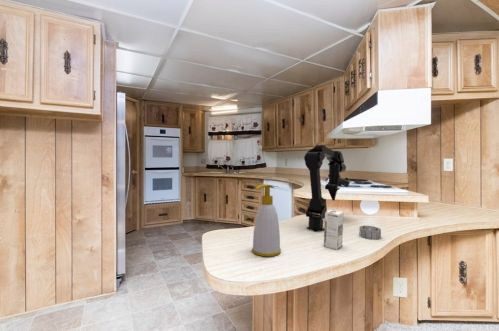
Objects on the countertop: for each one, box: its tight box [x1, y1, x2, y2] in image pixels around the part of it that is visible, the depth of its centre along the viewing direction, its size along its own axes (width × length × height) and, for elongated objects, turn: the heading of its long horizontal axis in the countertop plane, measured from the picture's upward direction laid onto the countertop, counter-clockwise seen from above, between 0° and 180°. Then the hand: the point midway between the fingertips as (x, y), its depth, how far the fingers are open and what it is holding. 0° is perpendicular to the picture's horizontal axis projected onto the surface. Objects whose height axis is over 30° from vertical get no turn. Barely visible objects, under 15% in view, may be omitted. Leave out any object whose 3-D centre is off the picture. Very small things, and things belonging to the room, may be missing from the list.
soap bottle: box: [251, 183, 282, 257], centre depth 94 cm, size 11×12×26 cm
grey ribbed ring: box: [358, 225, 382, 241], centre depth 113 cm, size 9×9×4 cm
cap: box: [364, 226, 376, 231], centre depth 113 cm, size 5×5×4 cm
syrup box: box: [323, 209, 344, 250], centre depth 100 cm, size 6×6×14 cm
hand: (333, 200), depth 138 cm, fingers closed
